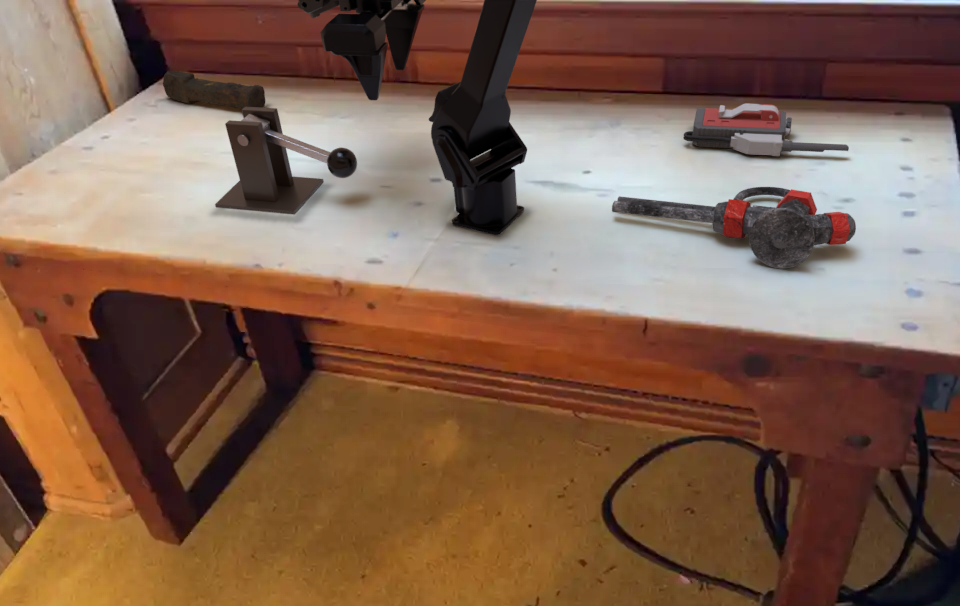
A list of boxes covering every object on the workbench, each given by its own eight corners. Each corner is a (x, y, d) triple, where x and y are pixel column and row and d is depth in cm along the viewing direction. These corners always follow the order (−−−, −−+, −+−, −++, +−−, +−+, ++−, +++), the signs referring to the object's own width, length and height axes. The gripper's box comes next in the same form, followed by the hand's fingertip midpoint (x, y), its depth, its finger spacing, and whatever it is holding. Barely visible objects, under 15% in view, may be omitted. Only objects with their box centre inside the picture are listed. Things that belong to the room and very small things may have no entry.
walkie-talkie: (680, 154, 116) (847, 162, 111) (683, 122, 113) (853, 129, 108) (687, 125, 122) (844, 132, 117) (689, 94, 119) (850, 99, 114)
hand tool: (270, 106, 139) (263, 77, 136) (253, 116, 136) (246, 87, 133) (180, 92, 147) (171, 64, 144) (162, 101, 144) (153, 73, 141)
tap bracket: (324, 187, 116) (308, 103, 109) (295, 220, 110) (276, 133, 103) (249, 181, 119) (228, 99, 112) (217, 212, 113) (192, 128, 106)
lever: (359, 173, 110) (363, 148, 108) (347, 187, 108) (351, 162, 105) (250, 132, 112) (252, 106, 109) (236, 145, 109) (237, 119, 106)
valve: (862, 226, 102) (843, 279, 91) (640, 201, 113) (599, 245, 101) (871, 172, 99) (853, 219, 88) (642, 151, 110) (600, 191, 98)
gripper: (333, -76, 107) (354, 54, 117) (263, -29, 93) (293, 113, 103) (421, -77, 104) (435, 56, 114) (362, -29, 90) (384, 118, 100)
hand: (387, 84), depth 108 cm, fingers open, 9 cm apart
